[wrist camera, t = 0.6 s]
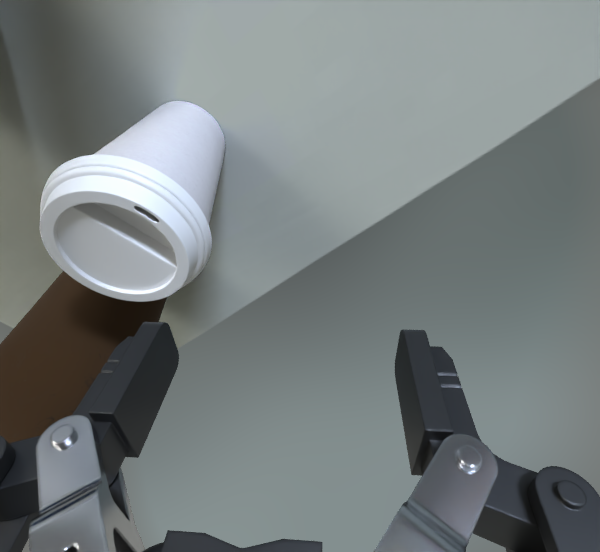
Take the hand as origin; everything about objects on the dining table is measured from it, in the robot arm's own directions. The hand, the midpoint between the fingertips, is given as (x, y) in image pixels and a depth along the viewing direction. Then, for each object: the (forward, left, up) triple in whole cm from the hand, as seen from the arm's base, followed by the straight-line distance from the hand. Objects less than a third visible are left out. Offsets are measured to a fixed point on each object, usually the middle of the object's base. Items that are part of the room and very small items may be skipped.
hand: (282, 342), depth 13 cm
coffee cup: (+4, -9, -23) cm, 25 cm away
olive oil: (+19, -15, -23) cm, 34 cm away
